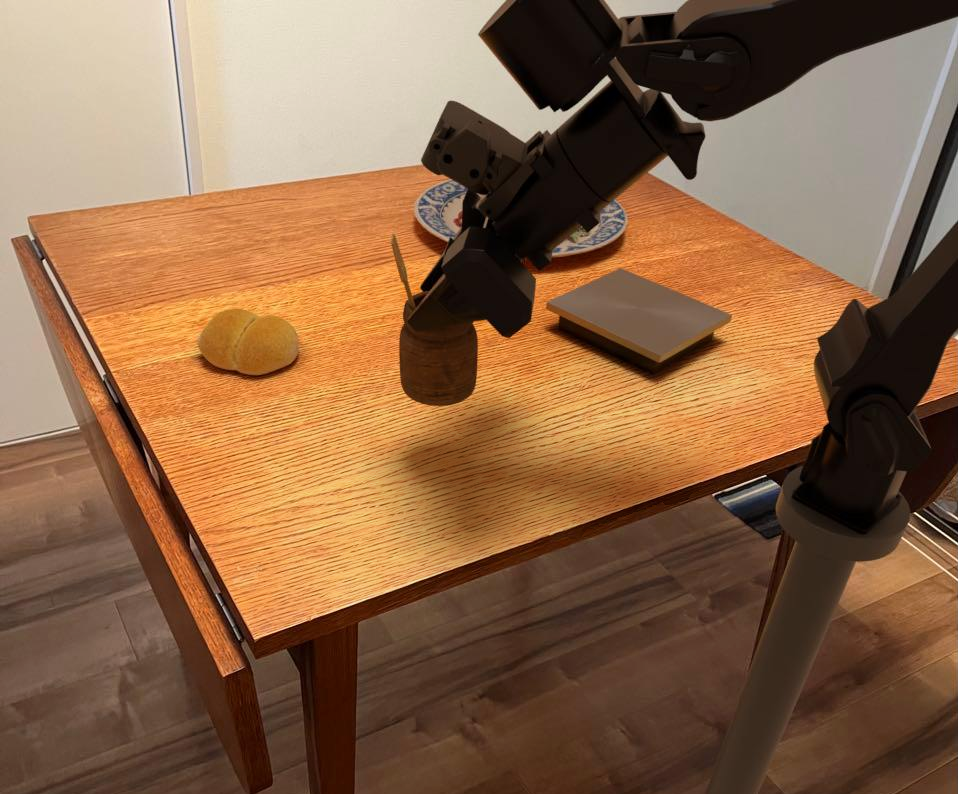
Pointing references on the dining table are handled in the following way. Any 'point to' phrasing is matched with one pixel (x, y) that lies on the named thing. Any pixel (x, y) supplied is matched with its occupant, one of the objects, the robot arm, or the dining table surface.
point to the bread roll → (248, 342)
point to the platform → (637, 320)
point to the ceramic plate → (444, 199)
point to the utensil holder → (435, 354)
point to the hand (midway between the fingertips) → (418, 308)
